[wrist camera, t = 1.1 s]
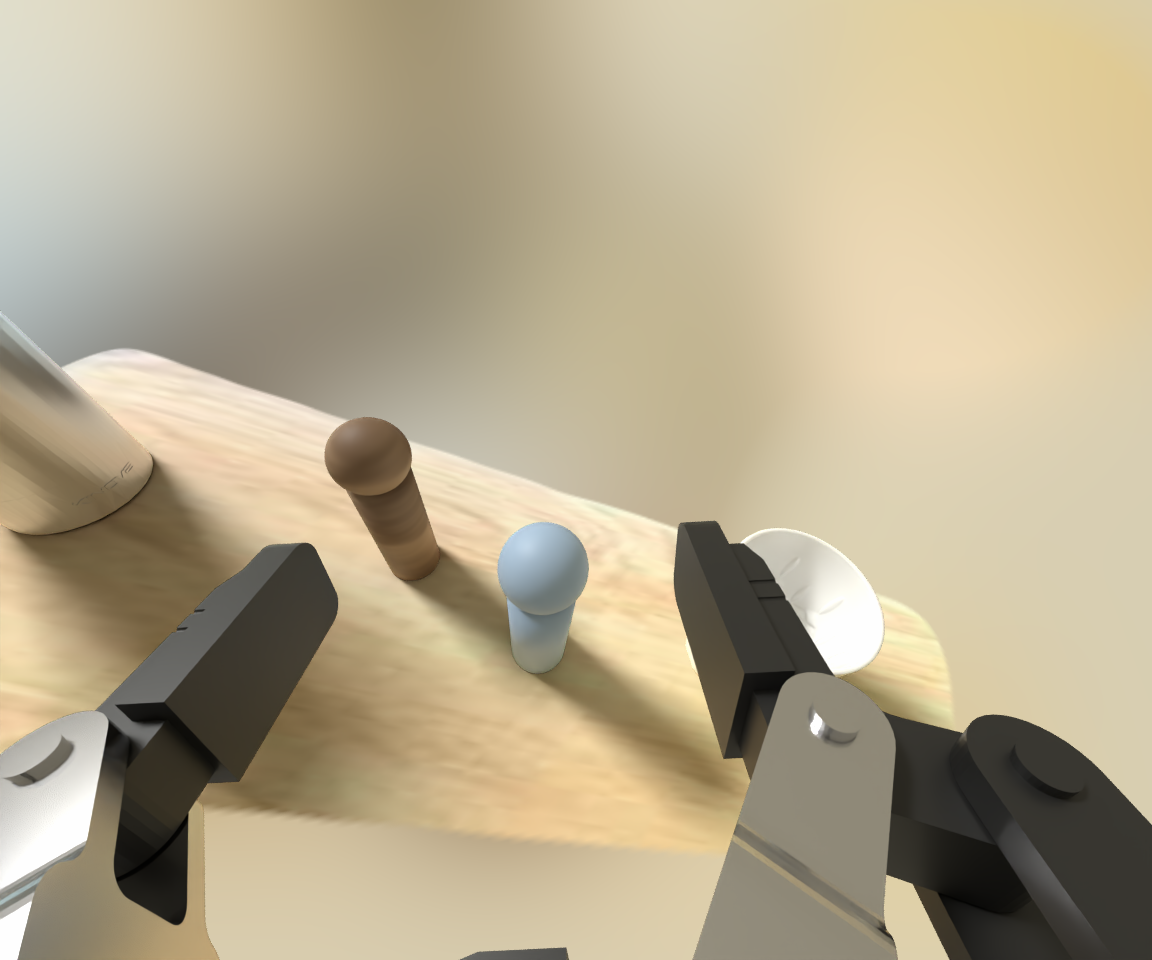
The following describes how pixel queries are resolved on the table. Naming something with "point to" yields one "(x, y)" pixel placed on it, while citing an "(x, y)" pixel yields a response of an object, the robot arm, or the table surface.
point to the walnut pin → (384, 493)
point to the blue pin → (541, 591)
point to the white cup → (823, 597)
